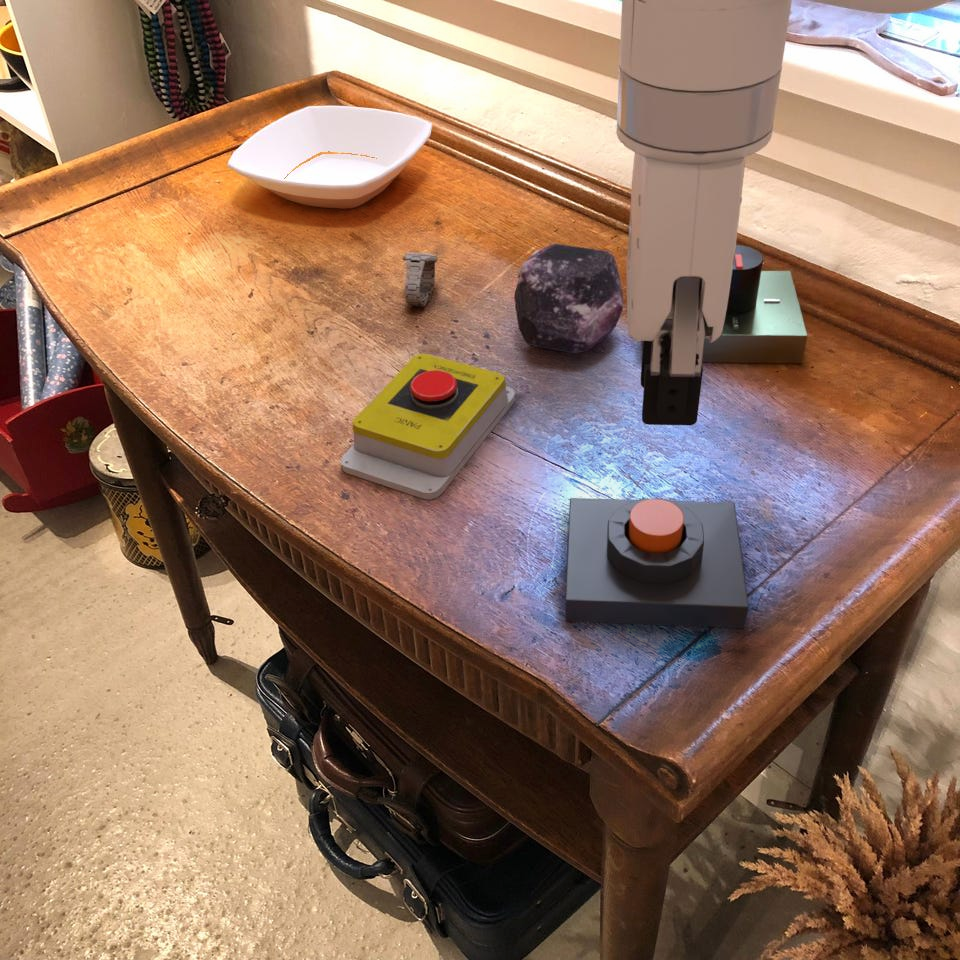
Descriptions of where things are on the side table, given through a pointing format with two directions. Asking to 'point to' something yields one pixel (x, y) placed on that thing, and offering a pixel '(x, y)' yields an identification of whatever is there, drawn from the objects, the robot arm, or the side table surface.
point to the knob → (744, 280)
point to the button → (656, 526)
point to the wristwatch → (419, 278)
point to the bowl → (331, 174)
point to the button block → (655, 568)
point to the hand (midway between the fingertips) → (667, 401)
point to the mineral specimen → (568, 297)
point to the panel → (763, 327)
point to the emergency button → (426, 425)
